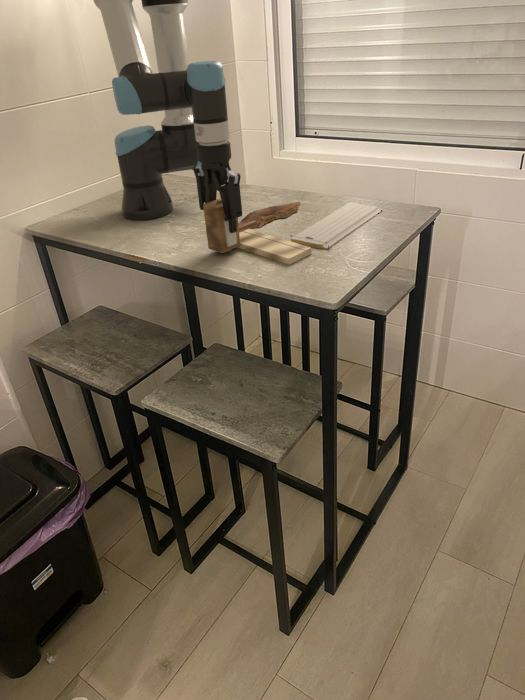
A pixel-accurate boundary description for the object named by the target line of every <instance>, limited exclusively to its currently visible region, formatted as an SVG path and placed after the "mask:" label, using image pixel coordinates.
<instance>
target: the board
mask: <svg viewBox="0 0 525 700" xmlns="http://www.w3.org/2000/svg"><path fill="white" fill-rule="evenodd" d="M239 236H240V246H238V247H236V248H237V249H240V250H244V251H246V252H248V253H249V252H250V253H252V254H255V255H258V256H261V257H264V258H267V259H269V260H270V259H271V260H273V261H277V262H279V263H281V264H285V265H288V266H290V265H292V264H294V263H296V262H298V261H300V260H302V259H303V258H306V257H307V256H308V257H309V255H311V254H312V251H313V250H312V246H307V245H302V244H298V243H294V242H291V240H287V239H284V238H282V237H281V238H279V237H277V236H273V235H270V234H267V233H264V232H260V231H256V230H254V229H250V228H249V229H247V230H244V231H242V232H239Z"/></svg>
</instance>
